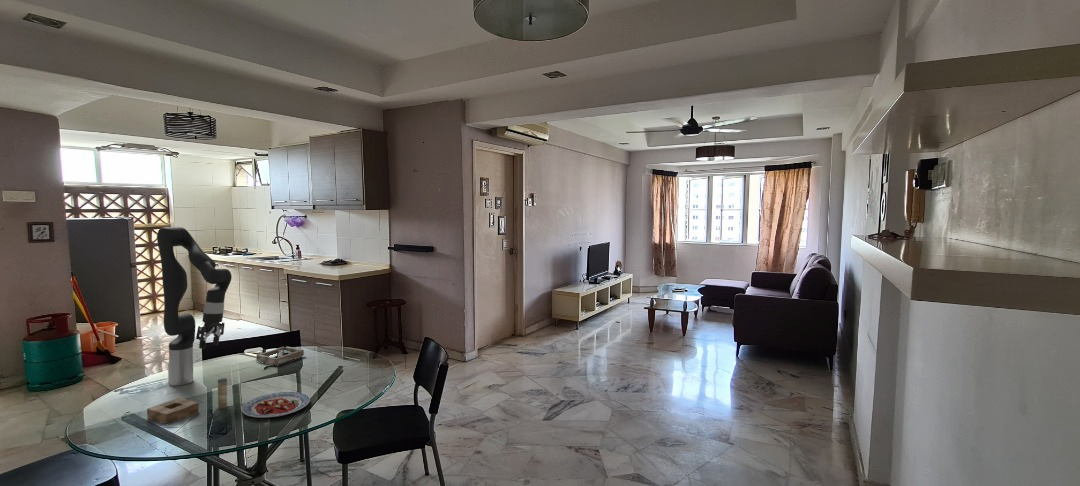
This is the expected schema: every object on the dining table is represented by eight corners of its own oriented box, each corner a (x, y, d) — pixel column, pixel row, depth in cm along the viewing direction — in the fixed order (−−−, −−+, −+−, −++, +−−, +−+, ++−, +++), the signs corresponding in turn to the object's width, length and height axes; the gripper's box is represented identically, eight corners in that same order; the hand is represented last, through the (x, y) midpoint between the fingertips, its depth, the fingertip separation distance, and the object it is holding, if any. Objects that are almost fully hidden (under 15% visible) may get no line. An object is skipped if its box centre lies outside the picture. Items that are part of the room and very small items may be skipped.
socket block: (147, 418, 186) (147, 408, 186) (179, 407, 197) (179, 397, 197) (167, 424, 182) (167, 414, 182) (198, 412, 193) (198, 402, 193)
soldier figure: (271, 365, 255) (269, 352, 263) (278, 369, 258) (275, 356, 267) (283, 355, 256) (280, 343, 265) (289, 359, 259) (287, 347, 268)
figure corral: (256, 362, 255) (256, 355, 255) (285, 352, 273) (285, 346, 272) (275, 366, 250) (275, 359, 250) (303, 356, 268) (303, 349, 267)
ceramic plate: (238, 426, 184) (238, 419, 184) (245, 401, 207) (245, 394, 206) (310, 415, 196) (310, 409, 196) (309, 393, 219) (309, 387, 218)
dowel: (216, 407, 199) (216, 380, 198) (223, 404, 202) (223, 377, 201) (221, 408, 198) (221, 381, 197) (228, 405, 201) (228, 379, 200)
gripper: (216, 308, 220) (211, 342, 220) (193, 312, 206) (188, 348, 205) (232, 310, 220) (227, 344, 220) (210, 314, 206) (205, 350, 205)
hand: (208, 346), depth 213 cm, fingers open, 8 cm apart
